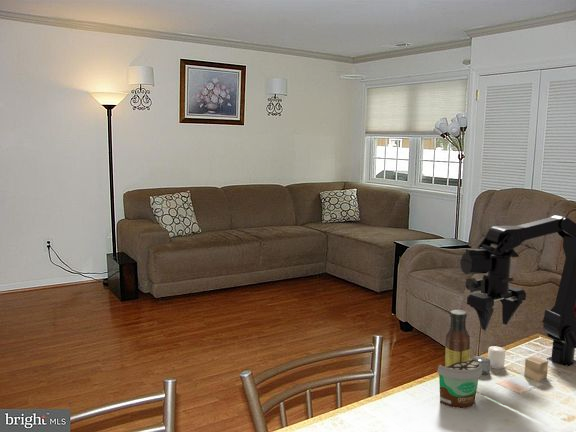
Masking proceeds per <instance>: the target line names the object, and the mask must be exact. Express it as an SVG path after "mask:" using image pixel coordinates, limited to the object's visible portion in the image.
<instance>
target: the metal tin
mask: <svg viewBox="0 0 576 432" xmlns="http://www.w3.org/2000/svg"><path fill="white" fill-rule="evenodd" d="M473 357H475V358H477V359H478V360H479V361H480V364H481V367H482V375H481V376H487V375H489V374H490V370H491V367H490V360H489V359H488V357H485V356H481V355H480V356H478V355H476V356H472V357H470V360H472V358H473Z"/></svg>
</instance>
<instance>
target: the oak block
mask: <svg viewBox="0 0 576 432" xmlns="http://www.w3.org/2000/svg"><path fill="white" fill-rule="evenodd" d="M524 361H525V362H524V363H525V364H524V371H523V373H524V377H527V378H529V379H532V380H534V381H537V382H539V381H542V380H544V379H547V378H548V367H549V360H547V359H544V358H542V357H538V356H536V355H533V356H529V357H527V358H525V360H524Z"/></svg>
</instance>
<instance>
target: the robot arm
mask: <svg viewBox="0 0 576 432" xmlns="http://www.w3.org/2000/svg"><path fill="white" fill-rule="evenodd" d="M552 234H557V236H558V237H560V238H562V249H563V253H564V256H565V260H564V263H563V269H562V273H561V278H560V282H559V285H558V288H557V289H558V290H557V293H556V299H555V303H554V306H552V308H550V309H545V310H544V315H543V319H542V320H541V323H542V324H543V325H542V327H543V329H544V331H545V332H546V337H547V338H549V339H551V340H552V347H551V348H552V349H551V356H549V357H546V359H545V360H547V361H551V362H553V363H555V364H558V365H561V366H564V367H570V366H573V365H575V364H576V359H575V351H576V313H575V306H576V222H575V221H573V220H572V219H570V218H569V217H567V216H564V215H559V214H558V215H557V214H556V215H555V214H554V215H552V216H550V217H547V218H543V219H538V220H533V221H530V222H526V223H522V224H519V225H493V226H491V227H490V228H489V230H488V231H487V233H486V235H485V237H484V238H483V239H482V241H481V242H480V243H479V245H478V246H477V248H466V249H465V253H463V254H462V256H461V259H460V260H459V261H460V268H461V271H462V272H463V274H465V275H474V274H475V275H476V274H477V275H479V274H480V275H481V274H484V275H483V276H482V279H476V278H475V277H471V278H470V277H469V278H466V279H465V288H466V290H468V291H469V292H470V293H471V294H469V295H467V297H466V305H468V306H469V307H470V308H472V309H473V310H474V311H476V314H477V316H478V320H479V324H480V327H481V330H483V331H487V329H488V327H489V324H490V321H491V318H492V315H493V312H494V311H495V310H494V308H493V307H494V306H495V302H497V301H500V303H501V309H502V310H501V311H502V316H501V319H502V324H503V325H505V326H506V325H508V323H509V322H510V320H511V319H512V317H513V316H514V314H515V313H516V311H517V310H518V309H519V307H520V306H521V305H522V304H523V302H524V301H526V297H527V293H526V291H525V290H524V289H523V288H519V287H515V286H511V285H510V282H513V280H514V277H513V276H510V275H511V265H512V264H511V263H512V262H511V261H512V258H518V257H520V255H519V254H518V252H516V251H515V250H514V248H518V247H519V246H520V245H522V243H524V242H527V241H529V240H532V239H535V238H536V239H537V238H540V237H545V236H548V235H552ZM474 292H476V293H474ZM479 292H480V293H479Z"/></svg>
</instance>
